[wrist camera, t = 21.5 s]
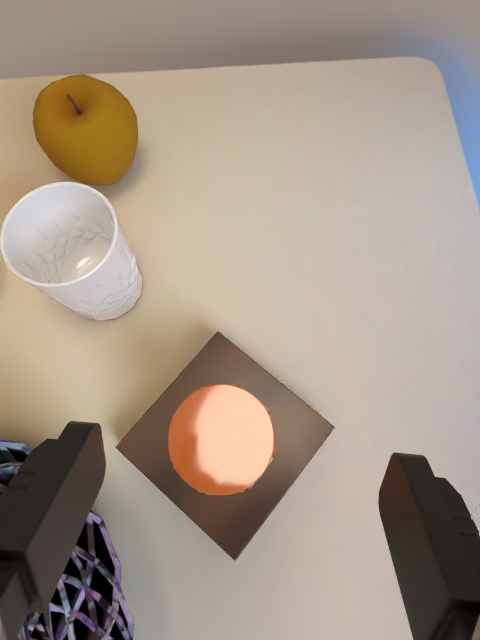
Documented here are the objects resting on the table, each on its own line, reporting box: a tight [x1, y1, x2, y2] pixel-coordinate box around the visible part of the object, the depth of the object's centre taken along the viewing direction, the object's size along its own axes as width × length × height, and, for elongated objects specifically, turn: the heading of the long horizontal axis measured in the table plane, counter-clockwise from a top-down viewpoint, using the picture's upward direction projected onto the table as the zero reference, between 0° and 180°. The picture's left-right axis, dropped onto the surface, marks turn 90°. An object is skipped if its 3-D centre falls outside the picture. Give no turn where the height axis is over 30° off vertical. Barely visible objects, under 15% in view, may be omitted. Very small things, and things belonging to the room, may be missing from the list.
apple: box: [33, 75, 138, 186], centre depth 36 cm, size 9×8×9 cm
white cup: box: [0, 182, 143, 321], centre depth 32 cm, size 8×8×10 cm
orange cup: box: [168, 384, 276, 495], centre depth 27 cm, size 6×6×8 cm
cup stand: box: [116, 332, 335, 560], centre depth 29 cm, size 12×12×8 cm
